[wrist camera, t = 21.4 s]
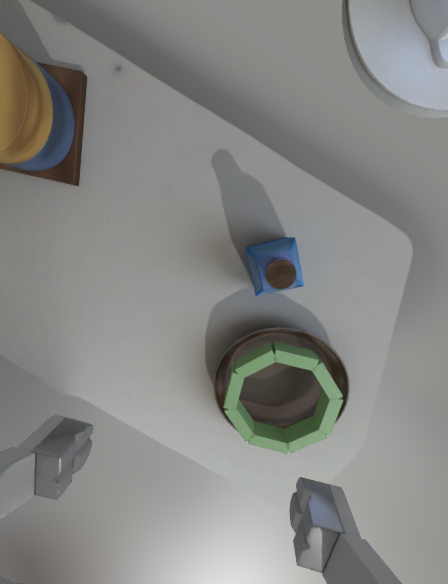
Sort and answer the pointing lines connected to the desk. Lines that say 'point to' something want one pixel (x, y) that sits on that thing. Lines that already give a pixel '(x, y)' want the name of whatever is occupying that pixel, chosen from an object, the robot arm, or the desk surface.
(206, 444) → the desk surface
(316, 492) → the robot arm
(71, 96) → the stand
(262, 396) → the plant saucer
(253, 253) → the perfume bottle
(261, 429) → the ring
